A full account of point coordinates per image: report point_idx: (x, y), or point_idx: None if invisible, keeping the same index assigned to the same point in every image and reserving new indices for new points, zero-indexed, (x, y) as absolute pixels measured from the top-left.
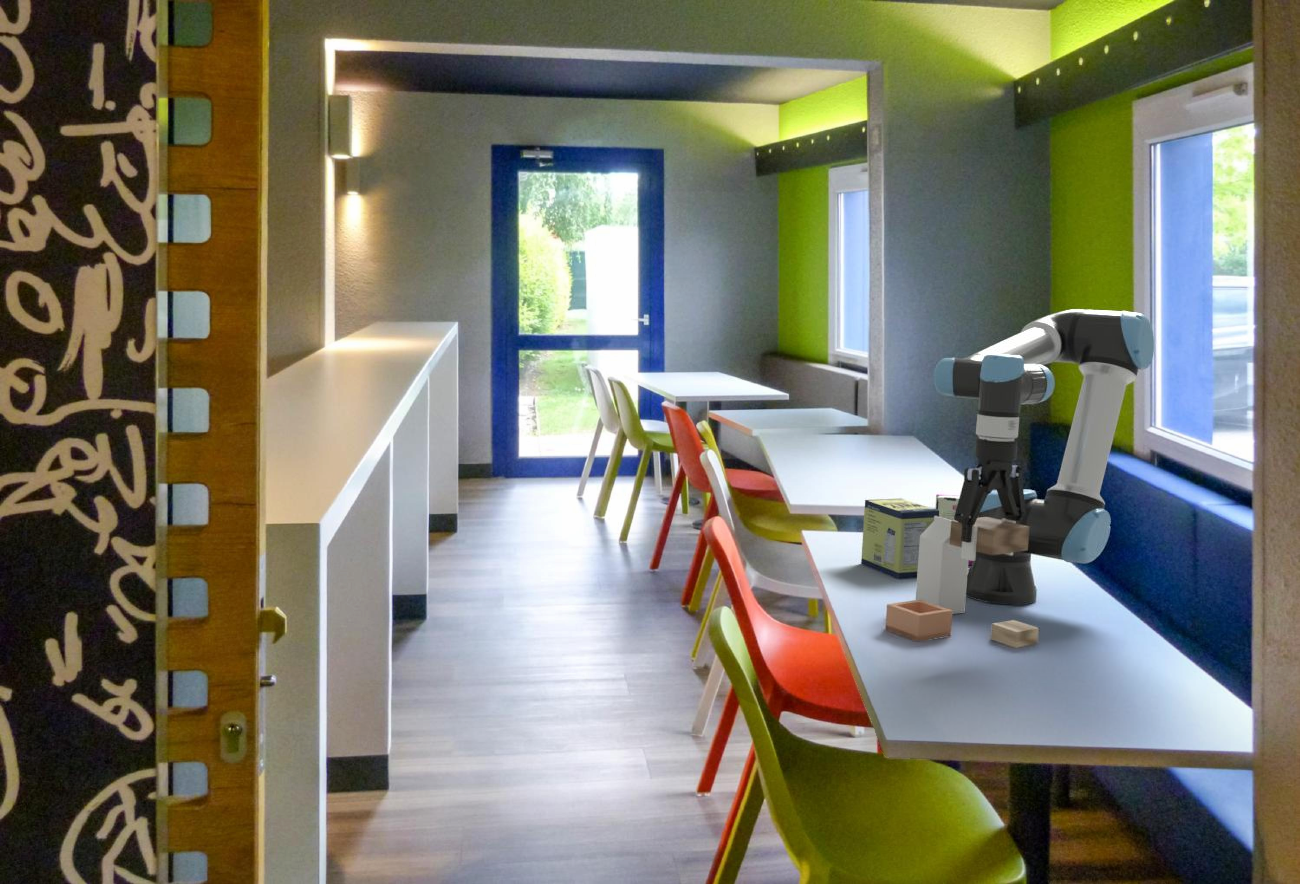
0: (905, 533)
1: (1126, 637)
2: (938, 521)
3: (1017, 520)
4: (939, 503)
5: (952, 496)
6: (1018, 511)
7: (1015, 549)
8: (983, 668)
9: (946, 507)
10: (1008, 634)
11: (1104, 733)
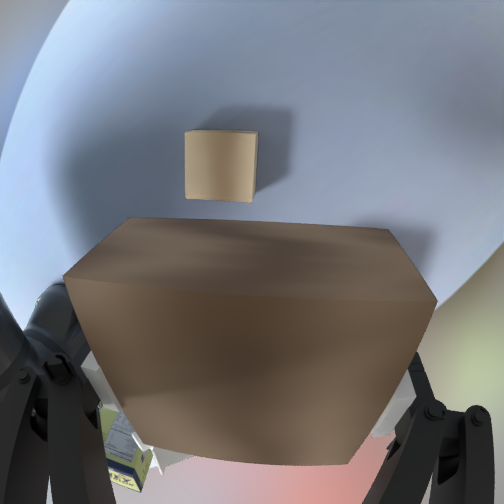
0: (133, 451)
1: (43, 105)
2: (163, 464)
3: (71, 364)
4: None
5: None
6: (41, 398)
7: (211, 224)
8: (418, 95)
9: None
10: (255, 154)
11: None
